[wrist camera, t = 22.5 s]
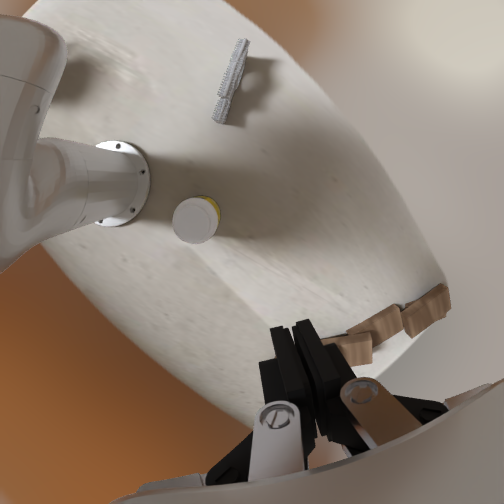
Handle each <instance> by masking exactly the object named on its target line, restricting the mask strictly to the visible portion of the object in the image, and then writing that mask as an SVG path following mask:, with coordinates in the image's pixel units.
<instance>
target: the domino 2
mask: <svg viewBox="0 0 504 504" xmlns="http://www.w3.org/2000/svg"><path fill="white" fill-rule="evenodd" d="M403 329H404V328H403V323H402V318H401V314H400V309H399V307H398V306H396V305H395V304H392V305H391V306H389V307H387V308H386V309H384V310H382V311H380V312H379V313H377V314H375V315H374V316H372V317H370V318H368V319H367V320H365V321H363V322H361V323H359V324H358V325H356V326H354V327H352V328H350V329H348V330H346V332H347V335H348V336H349V335H355V334H361V333H367V332H370V334H371V338H372V348H373V347H375V346H377V345H378V344H380V343H382V342H384V341H385V340H387V339H389V338H390V337H392V336H393V335H395V334H397V333H398V332H400V331H401V330H403Z"/></svg>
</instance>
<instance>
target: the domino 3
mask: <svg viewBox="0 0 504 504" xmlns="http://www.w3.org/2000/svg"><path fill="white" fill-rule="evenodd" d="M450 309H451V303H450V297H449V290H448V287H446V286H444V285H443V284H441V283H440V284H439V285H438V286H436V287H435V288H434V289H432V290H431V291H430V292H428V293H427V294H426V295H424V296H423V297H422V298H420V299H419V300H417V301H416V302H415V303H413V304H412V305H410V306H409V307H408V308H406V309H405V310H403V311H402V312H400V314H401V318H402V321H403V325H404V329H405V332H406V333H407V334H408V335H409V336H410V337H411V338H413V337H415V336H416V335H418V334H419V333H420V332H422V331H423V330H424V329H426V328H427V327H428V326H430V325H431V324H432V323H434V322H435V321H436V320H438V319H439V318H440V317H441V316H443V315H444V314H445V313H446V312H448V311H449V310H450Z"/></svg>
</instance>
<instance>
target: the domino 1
mask: <svg viewBox="0 0 504 504" xmlns="http://www.w3.org/2000/svg"><path fill="white" fill-rule="evenodd" d="M321 342H322V343H323V345H327V344H330V343H333V342H334V343H335V344H336V345H337V346H339V350H340V351H341V353H342V354H343V356H344V358H345V359H346V361H347V363H348V364H349V366H350V367H353V366H359V365H365V364H371V363H372V338H371V334H370V332H367V333H361V334H355V335H349V336H342V337H335V338H328V339H321Z"/></svg>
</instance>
